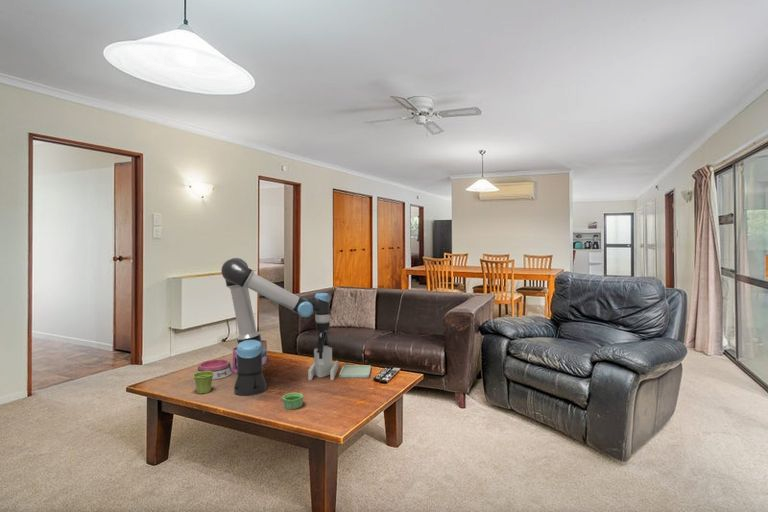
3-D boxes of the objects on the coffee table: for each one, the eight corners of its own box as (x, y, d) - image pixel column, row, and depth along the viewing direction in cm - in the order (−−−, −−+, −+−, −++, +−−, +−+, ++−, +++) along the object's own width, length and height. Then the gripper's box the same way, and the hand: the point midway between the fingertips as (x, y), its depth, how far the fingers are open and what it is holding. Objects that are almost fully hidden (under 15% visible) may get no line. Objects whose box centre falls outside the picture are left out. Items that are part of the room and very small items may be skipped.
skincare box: (327, 372, 233) (326, 345, 232) (333, 374, 228) (332, 347, 227) (313, 375, 227) (313, 348, 227) (319, 378, 223) (319, 350, 222)
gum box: (243, 374, 230) (242, 350, 229) (230, 373, 232) (230, 349, 232) (267, 362, 253) (267, 340, 252) (256, 361, 255) (255, 339, 255)
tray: (369, 378, 222) (369, 375, 222) (338, 378, 222) (338, 375, 222) (370, 367, 240) (370, 365, 240) (343, 367, 240) (343, 365, 240)
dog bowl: (233, 378, 225) (232, 365, 225) (195, 382, 218) (194, 369, 218) (231, 368, 242) (231, 356, 242) (196, 372, 235) (196, 360, 235)
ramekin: (298, 400, 192) (297, 391, 191) (306, 406, 184) (306, 396, 184) (279, 405, 186) (279, 395, 186) (287, 411, 179) (287, 401, 179)
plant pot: (218, 390, 206) (218, 372, 206) (201, 396, 198) (201, 378, 197) (206, 387, 211) (205, 370, 210) (189, 393, 202) (188, 375, 202)
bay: (333, 379, 220) (333, 370, 219) (308, 379, 220) (308, 370, 220) (338, 368, 239) (338, 359, 239) (315, 368, 239) (315, 359, 239)
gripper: (325, 326, 214) (326, 367, 215) (333, 317, 239) (333, 354, 240) (311, 326, 214) (311, 367, 215) (319, 317, 239) (320, 354, 240)
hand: (323, 360), depth 227 cm, fingers open, 13 cm apart
